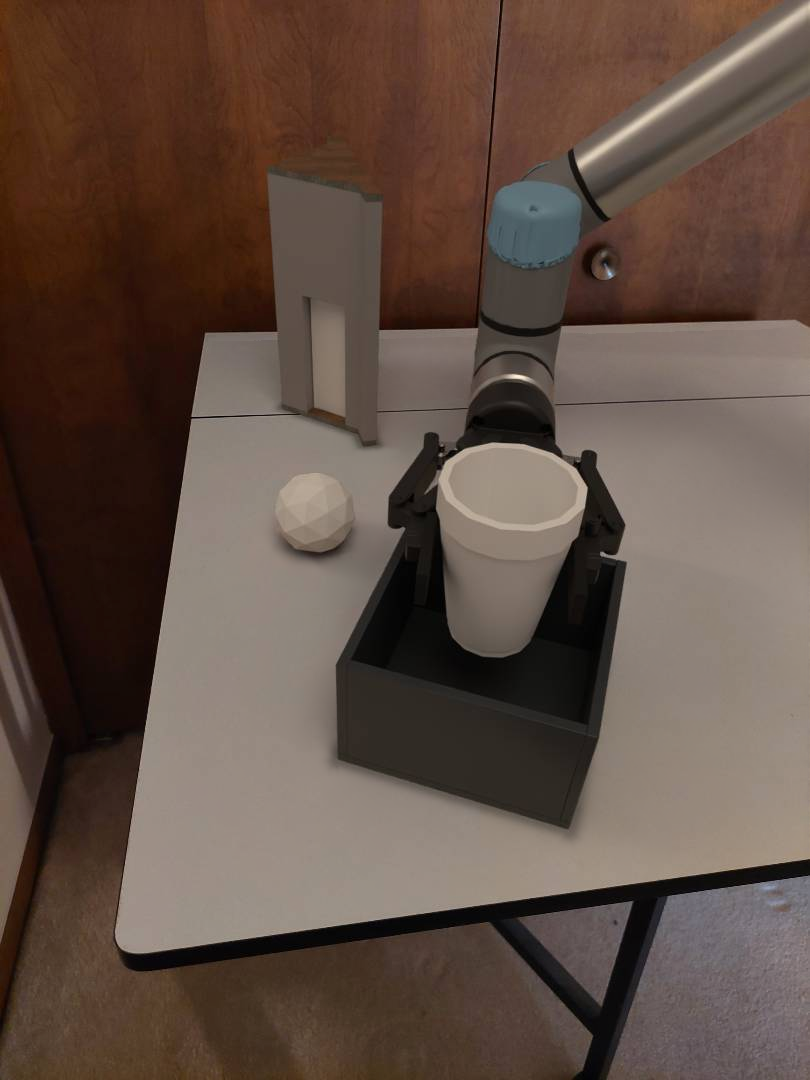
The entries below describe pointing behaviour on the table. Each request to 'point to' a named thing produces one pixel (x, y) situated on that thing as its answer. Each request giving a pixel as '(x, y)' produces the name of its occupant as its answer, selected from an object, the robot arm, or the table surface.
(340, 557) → the table surface
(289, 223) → the cabinet
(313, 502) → the geometric ball
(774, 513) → the table surface
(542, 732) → the waste bin
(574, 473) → the foam cup
